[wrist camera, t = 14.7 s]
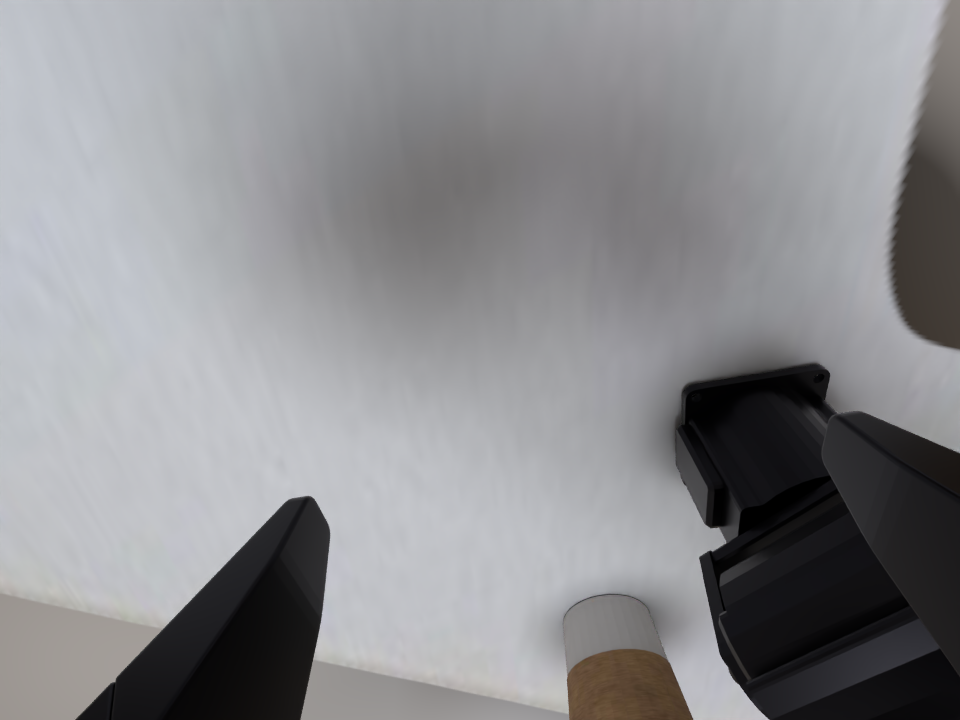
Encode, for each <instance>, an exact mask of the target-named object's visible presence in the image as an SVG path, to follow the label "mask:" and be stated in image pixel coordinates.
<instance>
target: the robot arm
mask: <svg viewBox="0 0 960 720" xmlns="http://www.w3.org/2000/svg"><path fill="white" fill-rule="evenodd" d="M817 374H818V375H817ZM816 375H817V376H816ZM814 376H816V377H814ZM829 379H830V373H829V372H828V370H827V369H825V368H824V367H823V366H822V365H810V366H804V367H798V368H792V369H786V370H780V371H774V372H768V373H761V374H755V375H749V376H743V377H737V378H731V379H725V380H719V381H712V382H706V383H700V384H694V385H691V386H689V387H687V388H686V389H685V390H684V391H683V398H682V425H679V427H678V428H677V430H676V466H677V468H678V470H679V472H680V474H681V479H682V481H683V483H684V484H685V485H686V486H687V489H688V491H689V493H690V495H691V497H692V499H693V501H694V503H695V505H696V507H697V509H698V511H699V513H700V515H701V517H702V519H703V522H704V524H705V525H707V526H708V527H710V528H718V527H719V528H720V530H721V532H722V534H723V536H724V538H725V540H726V542H727V543H726V544H724V545H722V546H721V547H719V548H718V549H716V550H714V551H713V552H712V551H708V552H707V553H705V554H703V555H702V556H700V557H699V559H700V563H701V568H702V573H703V579H704V583H705V588H706V593H707V597H708V602H709V606H710V611H711V616H712V620H713V625H714V630H715V634H716V639H717V643H718V648H719V652H720V655H721V657H722V659H723V661H724V662H725V664H726V665H727V666H728V668H729V672H730V674H731V676H732V678H733V679H734V680H735V682H736V683H738V684H739V685H740V686H741V688H742V689H743V690H744V692H745V693H746V695H747V696H748V697H749V699H750V700H751V701H752V702H753V703H754V705H755V706H756V707H757V708H758V709H759V710H760V711H761V712H762V713H763V714H764V715H765V716H766V717H767V718H768V719H769V720H960V453H958V452H955V451H953V450H951V449H948V448H946V447H943V446H941V445H939V444H936V443H934V442H932V441H929V440H927V439H925V438H922V437H920V436H918V435H915V434H913V433H911V432H908V431H906V430H904V429H901V428H899V427H897V426H894V425H892V424H890V423H887V422H885V421H883V420H880V419H878V418H876V417H873V416H871V415H869V414H866V413H863V412H860V411H853V412H846V413H840V414H837V413H836V412H835V411H834V410H833V409H832V408H831V407H830V406H829V405H828V404H827V403H826V402H825V397H826V392H827V388H828V383H829ZM694 394H698V395H697V396H695V397H692V396H693V395H694ZM329 543H330V529H329V525H328V523H327V521H326V519H325V517H324V515H323V514H322V512H321V510H320V508H319V506H318V504H317V503H316V501H315V499H314V498H312V497H311V496H304V497H298V498H292V499H289V500H288V501H286V502H285V503H284V504H283V505H282V506H281V507H280V508H279V509H278V510H277V511H276V513H275V514H274V515H273V516H272V517H271V518H270V519H269V520H268V521H267V522H266V523H265V524H264V525H263V526H262V527H261V528H260V529H259V530H258V531H257V532H256V533H255V534H254V535H253V536H252V537H251V538H250V539H249V541H248V542H247V543H246V544H245V545H244V546H243V547H242V548H241V549H240V550H239V551H238V552H237V553H236V554H235V555H234V556H233V557H232V558H231V559H230V560H229V561H228V562H227V563H226V564H225V565H224V566H223V568H222V569H221V570H220V571H219V572H218V573H217V574H216V575H215V576H214V577H213V578H212V579H211V580H210V581H209V582H208V583H207V584H206V585H205V586H204V587H203V588H202V589H201V590H200V591H199V592H198V593H197V595H196V596H195V597H194V598H193V599H192V600H191V601H190V602H189V603H188V604H187V605H186V606H185V607H184V608H183V609H182V610H181V611H180V612H179V613H178V614H177V615H176V616H175V617H174V618H173V619H172V620H171V621H170V623H169V624H168V625H167V626H166V627H165V628H164V629H163V630H162V631H161V632H160V633H159V634H158V635H157V636H156V637H155V638H154V639H153V640H152V641H151V642H150V643H149V644H148V645H147V646H146V647H145V649H144V650H143V651H142V652H141V653H140V654H139V655H138V656H137V657H136V658H135V659H134V660H133V661H132V662H131V663H130V664H129V665H128V666H127V667H126V668H125V669H124V670H123V671H122V672H121V673H120V675H119V676H118V677H117V678H116V682H113V683H111V684H110V685H109V686H108V687H107V688H106V689H105V690H104V691H103V692H102V693H101V694H100V695H99V696H98V697H97V698H96V699H95V700H94V701H93V702H92V703H91V704H90V705H89V706H88V707H87V708H86V710H85V711H83V713H82V714H81V715H79V716H78V717H77V719H76V720H300V718H301V714H302V709H303V705H304V700H305V695H306V690H307V686H308V681H309V676H310V671H311V667H312V662H313V657H314V653H315V648H316V643H317V639H318V634H319V629H320V623H321V617H322V610H323V601H324V591H325V582H326V572H327V563H328V553H329Z"/></svg>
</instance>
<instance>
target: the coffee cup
mask: <svg viewBox="0 0 960 720" xmlns="http://www.w3.org/2000/svg"><path fill="white" fill-rule="evenodd" d="M563 629H564V642H565V653H566V665H567V676H568V677H567V687H568V702H569V718H570V720H693V718H692V715H691V713H690V711H689V708H688V706H687V703H686V701H685V699H684V696H683V694H682V691H681V689H680V687H679V684H678V682H677V679H676V677H675V675H674V672H673V670H672V667H671V665H670V663H669V662H668V659H667V657H666V654H665V652H664V649H663V647H662V644H661V641H660V639H659V636H658V634H657V631H656V629H655V626H654V623H653V621H652V618H651V616H650V613H649V611H648V609H647V608H646V606H645V605H644V604H643V603H641V602H640V601H639V600H636V599H634V598H631V597H628V596H623V595H603V596H597V597H593V598H589V599H587V600H584V601H582V602H580V603H578V604H576V605H575V606H574V607H572V608H571V609H570V610H569V611H568V612H567V614H566V615H565V617H564V621H563Z"/></svg>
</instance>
